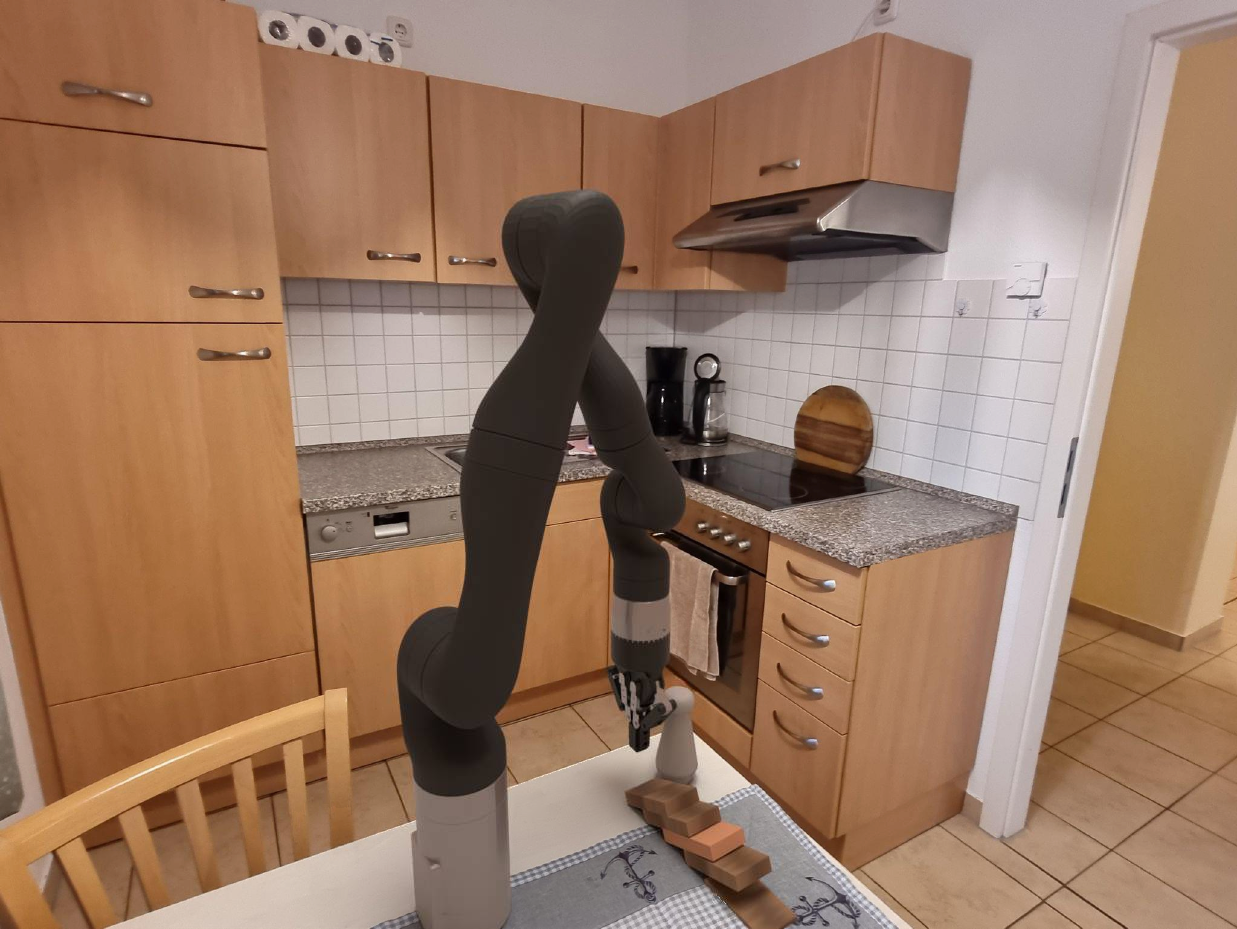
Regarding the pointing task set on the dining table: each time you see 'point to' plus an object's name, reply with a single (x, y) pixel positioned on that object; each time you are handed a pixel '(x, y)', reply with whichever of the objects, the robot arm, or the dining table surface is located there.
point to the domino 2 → (686, 818)
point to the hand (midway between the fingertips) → (638, 747)
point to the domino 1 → (662, 796)
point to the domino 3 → (709, 840)
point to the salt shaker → (678, 740)
